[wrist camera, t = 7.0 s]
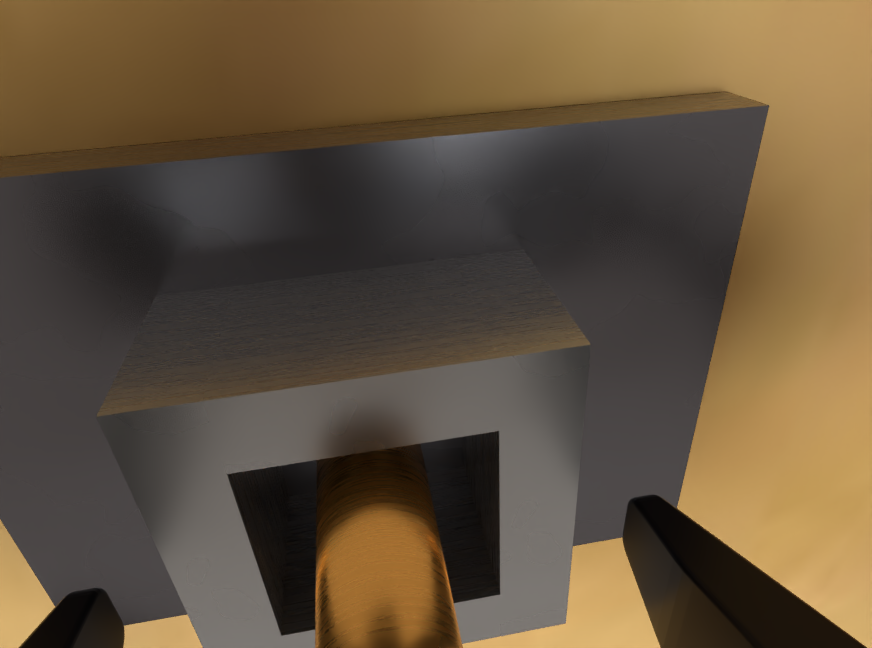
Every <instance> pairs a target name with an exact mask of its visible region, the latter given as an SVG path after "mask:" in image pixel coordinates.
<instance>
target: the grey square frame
mask: <svg viewBox="0 0 872 648" xmlns="http://www.w3.org/2000/svg"><path fill="white" fill-rule="evenodd" d="M590 348H591V344H590V343H589V341H588V340H587V338H586V337H585V336H584V334H583V333H582V331H581V330H580V329H579V327H578V326H577V324H576V323H575V322H574V320H573V319H572V317H571V316H570V314H569V313H568V312H567V310H566V309H565V307H564V306H563V305H562V303H561V302H560V300H559V299H558V298H557V296H556V295H555V293H554V292H553V290H552V289H551V288H550V286H549V285H548V283H547V282H546V281H545V279H544V278H543V276H542V275H541V274H540V272H539V271H538V269H537V268H536V266H535V265H534V264H533V262H532V261H531V259H530V258H529V257H528V255H527V254H526V252H525V251H524V250H523V249H521V250H513V251H506V252H498V253H490V254H482V255H474V256H466V257H458V258H450V259H442V260H434V261H426V262H418V263H410V264H402V265H394V266H387V267H379V268H371V269H363V270H355V271H347V272H339V273H331V274H323V275H315V276H307V277H299V278H291V279H283V280H276V281H268V282H260V283H252V284H244V285H236V286H228V287H220V288H212V289H204V290H196V291H188V292H180V293H172V294H164V295H157V296H156V297H155V299H154V301H153V303H152V305H151V307H150V309H149V311H148V313H147V315H146V317H145V319H144V321H143V323H142V325H141V327H140V329H139V331H138V333H137V335H136V337H135V339H134V341H133V343H132V345H131V347H130V349H129V351H128V353H127V355H126V357H125V359H124V361H123V363H122V365H121V367H120V369H119V371H118V374H117V376H116V378H115V380H114V382H113V384H112V386H111V388H110V390H109V392H108V394H107V396H106V398H105V400H104V402H103V404H102V406H101V408H100V410H99V412H98V414H97V416H96V417H97V419H98V422H99V424H100V426H101V428H102V430H103V432H104V435H105V437H106V439H107V441H108V443H109V445H110V448H111V450H112V452H113V454H114V456H115V458H116V461H117V463H118V465H119V467H120V469H121V471H122V474H123V476H124V478H125V480H126V482H127V484H128V486H129V489H130V491H131V493H132V495H133V497H134V499H135V502H136V504H137V506H138V508H139V510H140V512H141V515H142V517H143V519H144V521H145V523H146V525H147V528H148V530H149V532H150V534H151V536H152V538H153V541H154V543H155V545H156V547H157V549H158V551H159V554H160V556H161V558H162V560H163V562H164V564H165V566H166V569H167V571H168V573H169V575H170V577H171V579H172V582H173V584H174V586H175V588H176V590H177V592H178V595H179V597H180V599H181V601H182V603H183V605H184V608H185V610H186V612H187V614H188V616H189V618H190V621H191V623H192V625H193V627H194V629H195V631H196V634H197V636H198V638H199V640H200V642H201V644H202V646H203V648H315V597H316V491H313V492H307V493H301V494H295V495H289V492H288V488H287V484H286V480H285V477H284V473H283V469H282V465H288V464H294V463H300V462H307V461H313V460H319V459H325V458H332V457H338V456H344V455H351V454H357V453H363V452H369V451H376V450H382V449H388V448H395V447H401V446H407V445H413V444H420V443H426V442H432V441H439V440H445V439H451V438H457V437H462V439H463V459H464V467H459V468H453V469H447V470H441V471H435V472H429V473H427V478H428V482H429V487H430V492H431V497H432V502H433V506H434V511H435V516H436V521H437V526H438V531H439V535H440V540H441V545H442V550H443V555H444V559H445V564H446V569H447V574H448V579H449V583H450V588H451V593H452V598H453V603H454V607H455V612H456V617H457V622H458V627H459V632H460V636H461V641H462V644H463V643H469V642H474V641H479V640H484V639H489V638H494V637H499V636H504V635H509V634H514V633H519V632H524V631H529V630H535V629H540V628H545V627H550V626H555V625H560V624H565V623H566V614H567V603H568V592H569V581H570V570H571V559H572V548H573V537H574V526H575V515H576V504H577V492H578V481H579V470H580V459H581V448H582V437H583V426H584V415H585V404H586V393H587V382H588V371H589V360H590Z"/></svg>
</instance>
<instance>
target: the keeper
mask: <svg viewBox="0 0 872 648" xmlns="http://www.w3.org/2000/svg"><path fill="white" fill-rule="evenodd" d="M768 108H769V105H767V104H763V103H760V102H757V101H754V100H751V99H748V98H744V97H741V96H738V95H735V94H732V93H729V92H717V93H706V94H695V95H684V96H673V97H662V98H651V99H640V100H629V101H618V102H607V103H596V104H585V105H574V106H563V107H552V108H541V109H530V110H518V111H507V112H496V113H485V114H474V115H463V116H452V117H441V118H430V119H419V120H408V121H397V122H386V123H375V124H364V125H353V126H342V127H331V128H320V129H309V130H298V131H287V132H276V133H265V134H254V135H243V136H232V137H221V138H210V139H199V140H188V141H177V142H166V143H155V144H144V145H133V146H122V147H111V148H100V149H89V150H78V151H67V152H56V153H45V154H34V155H23V156H12V157H1V158H0V519H1V521H2V523H3V524H4V526H5V527H6V529H7V531H8V532H9V534H10V535H11V537H12V538H13V540H14V542H15V543H16V545H17V546H18V548H19V550H20V551H21V553H22V554H23V556H24V557H25V559H26V561H27V562H28V564H29V565H30V567H31V569H32V570H33V572H34V573H35V575H36V576H37V578H38V580H39V581H40V583H41V584H42V586H43V588H44V589H45V591H46V592H47V594H48V596H49V597H50V599H51V600H52V602H53V603H54V605H55V607H56V606H57V605H58V603H59V602H60V601H61V600H62V599H63V598H64V597H65V596H67V595H68V594H69V593H71V592H74V591H79V590H85V589H91V588H102V589H104V590H105V591H106V592H107V594H108V596H109V597H110V599H111V601H112V603H113V605H114V607H115V608H116V610H117V612H118V614H119V616H120V618H121V620H122V622H123V625H129V624H135V623H141V622H146V621H152V620H157V619H163V618H169V617H174V616H180V615H186V614H187V612H186V610H185V608H184V605H183V603H182V601H181V599H180V597H179V595H178V592H177V590H176V588H175V586H174V584H173V582H172V579H171V577H170V575H169V573H168V571H167V569H166V566H165V564H164V562H163V560H162V558H161V556H160V554H159V551H158V549H157V547H156V545H155V543H154V541H153V538H152V536H151V534H150V532H149V530H148V528H147V525H146V523H145V521H144V519H143V517H142V515H141V512H140V510H139V508H138V506H137V504H136V502H135V499H134V497H133V495H132V493H131V491H130V489H129V486H128V484H127V482H126V480H125V478H124V476H123V474H122V471H121V469H120V467H119V465H118V463H117V461H116V458H115V456H114V454H113V452H112V450H111V448H110V445H109V443H108V441H107V439H106V437H105V435H104V432H103V430H102V428H101V426H100V424H99V422H98V419H97V417H96V416H97V414H98V412H99V410H100V408H101V406H102V404H103V402H104V400H105V398H106V396H107V394H108V392H109V390H110V388H111V386H112V384H113V382H114V380H115V378H116V376H117V374H118V371H119V369H120V367H121V365H122V363H123V361H124V359H125V357H126V355H127V353H128V351H129V349H130V347H131V345H132V343H133V341H134V339H135V337H136V335H137V333H138V331H139V329H140V327H141V325H142V323H143V321H144V319H145V317H146V315H147V313H148V311H149V309H150V307H151V305H152V303H153V301H154V299H155V297H156V296H157V295H164V294H172V293H180V292H188V291H196V290H204V289H212V288H220V287H228V286H236V285H244V284H252V283H260V282H268V281H276V280H283V279H291V278H299V277H307V276H315V275H323V274H331V273H339V272H347V271H355V270H363V269H371V268H379V267H387V266H394V265H402V264H410V263H418V262H426V261H434V260H442V259H450V258H458V257H466V256H474V255H482V254H490V253H498V252H506V251H513V250H521V249H523V250H524V251H525V252H526V254H527V255H528V257H529V258H530V259H531V261H532V262H533V264H534V265H535V266H536V268H537V269H538V271H539V272H540V274H541V275H542V276H543V278H544V279H545V281H546V282H547V283H548V285H549V286H550V288H551V289H552V290H553V292H554V293H555V295H556V296H557V298H558V299H559V300H560V302H561V303H562V305H563V306H564V307H565V309H566V310H567V312H568V313H569V314H570V316H571V317H572V319H573V320H574V322H575V323H576V324H577V326H578V327H579V329H580V330H581V331H582V333H583V334H584V336H585V337H586V338H587V340H588V341H589V343H590V344H591V348H590V360H589V371H588V382H587V393H586V404H585V415H584V426H583V437H582V448H581V459H580V470H579V481H578V492H577V504H576V515H575V526H574V537H573V546H576V545H582V544H587V543H593V542H598V541H604V540H610V539H615V538H621V537H623V529H624V523H625V517H626V511H627V505H628V502H629V500H630V499H631V498H634V497H639V496H645V495H658V496H660V497H662V498H663V499H665V500H666V501H667V502H669V503H670V504H671V505H673V506H674V507H676V508H677V505H678V501H679V496H680V492H681V488H682V483H683V479H684V475H685V470H686V466H687V461H688V457H689V453H690V448H691V444H692V440H693V435H694V431H695V427H696V422H697V418H698V413H699V409H700V405H701V400H702V396H703V392H704V387H705V383H706V379H707V374H708V370H709V365H710V361H711V357H712V352H713V348H714V344H715V339H716V335H717V331H718V326H719V322H720V317H721V313H722V309H723V304H724V300H725V296H726V291H727V287H728V283H729V278H730V274H731V269H732V265H733V261H734V256H735V252H736V248H737V243H738V239H739V235H740V230H741V226H742V221H743V217H744V213H745V208H746V204H747V200H748V195H749V191H750V187H751V182H752V178H753V173H754V169H755V165H756V160H757V156H758V152H759V147H760V143H761V139H762V134H763V130H764V125H765V121H766V117H767V112H768ZM459 467H464V459H463V439H462V437H457V438H451V439H445V440H439V441H432V442H426V443H420V444H413V445H407V446H401V447H395V448H388V449H382V450H376V451H369V452H363V453H357V454H351V455H344V456H338V457H332V458H325V459H319V460H313V461H307V462H300V463H294V464H288V465H282V469H283V473H284V477H285V480H286V484H287V488H288V492H289V495H295V494H301V493H307V492H313V491H316V597H315V648H463V646H462V641H461V636H460V632H459V627H458V622H457V617H456V612H455V607H454V603H453V598H452V593H451V588H450V583H449V579H448V574H447V569H446V564H445V559H444V555H443V550H442V545H441V540H440V535H439V531H438V526H437V521H436V516H435V511H434V506H433V502H432V497H431V492H430V487H429V482H428V478H427V473H429V472H435V471H441V470H447V469H453V468H459Z"/></svg>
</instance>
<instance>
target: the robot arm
mask: <svg viewBox="0 0 872 648" xmlns="http://www.w3.org/2000/svg"><path fill="white" fill-rule="evenodd" d="M623 544H624V548H625V551H626V554H627V557H628V560H629V563H630V565H631V568H632V571H633V574H634V576H635V579H636V582H637V585H638V587H639V590H640V593H641V595H642V598H643V601H644V604H645V606H646V609H647V612H648V615H649V617H650V620H651V623H652V626H653V628H654V631H655V634H656V636H657V639H658V642H659V644H660V647H661V648H867V647H866V646H864V645H863V644H861V643H860V642H859V641H857V640H856V639H855V638H853V637H852V636H851V635H849V634H848V633H846V632H845V631H844V630H842V629H841V628H840V627H838V626H837V625H835V624H834V623H833V622H831V621H830V620H829V619H827V618H826V617H825V616H823V615H822V614H820V613H819V612H818V611H816V610H815V609H814V608H812V607H811V606H810V605H808V604H807V603H805V602H804V601H803V600H801V599H800V598H799V597H797V596H796V595H794V594H793V593H792V592H790V591H789V590H788V589H786V588H785V587H784V586H782V585H781V584H779V583H778V582H777V581H775V580H774V579H773V578H771V577H770V576H769V575H767V574H766V573H764V572H763V571H762V570H760V569H759V568H758V567H756V566H755V565H753V564H752V563H751V562H749V561H748V560H747V559H745V558H744V557H743V556H741V555H740V554H738V553H737V552H736V551H734V550H733V549H732V548H730V547H729V546H728V545H726V544H725V543H723V542H722V541H721V540H719V539H718V538H717V537H715V536H714V535H712V534H711V533H710V532H708V531H707V530H706V529H704V528H703V527H702V526H700V525H699V524H697V523H696V522H695V521H693V520H692V519H691V518H689V517H688V516H687V515H685V514H684V513H682V512H681V511H680V510H678V509H677V508H676V507H674V506H673V505H671V504H670V503H669V502H667V501H666V500H665V499H663V498H662V497H660V496H658V495H645V496H639V497H634V498H631V499H630V500H629V502H628V505H627V511H626V517H625V523H624V529H623ZM123 645H124V625H123V622H122V620H121V618H120V616H119V614H118V612H117V610H116V608H115V607H114V605H113V603H112V601H111V599H110V597H109V596H108V594H107V592H106V591H105V590H104V589H102V588H91V589H85V590H79V591H74V592H71V593H69V594H68V595H67V596H65V597H64V598H63V599H62V600H61V601H60V602H59V603H58V605H57V606H56V607H55V608H54V609H53V610H52V611H51V612H50V613H49V615H48V616H47V617H46V618H45V619H44V620H43V621H42V622H41V624H40V625H39V626H38V627H37V628H36V629H35V630H34V631H33V632H32V634H31V635H30V636H29V637H28V638H27V639H26V640H25V641H24V643H23V644H22V645H21V646H20V647H19V648H123Z"/></svg>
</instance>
